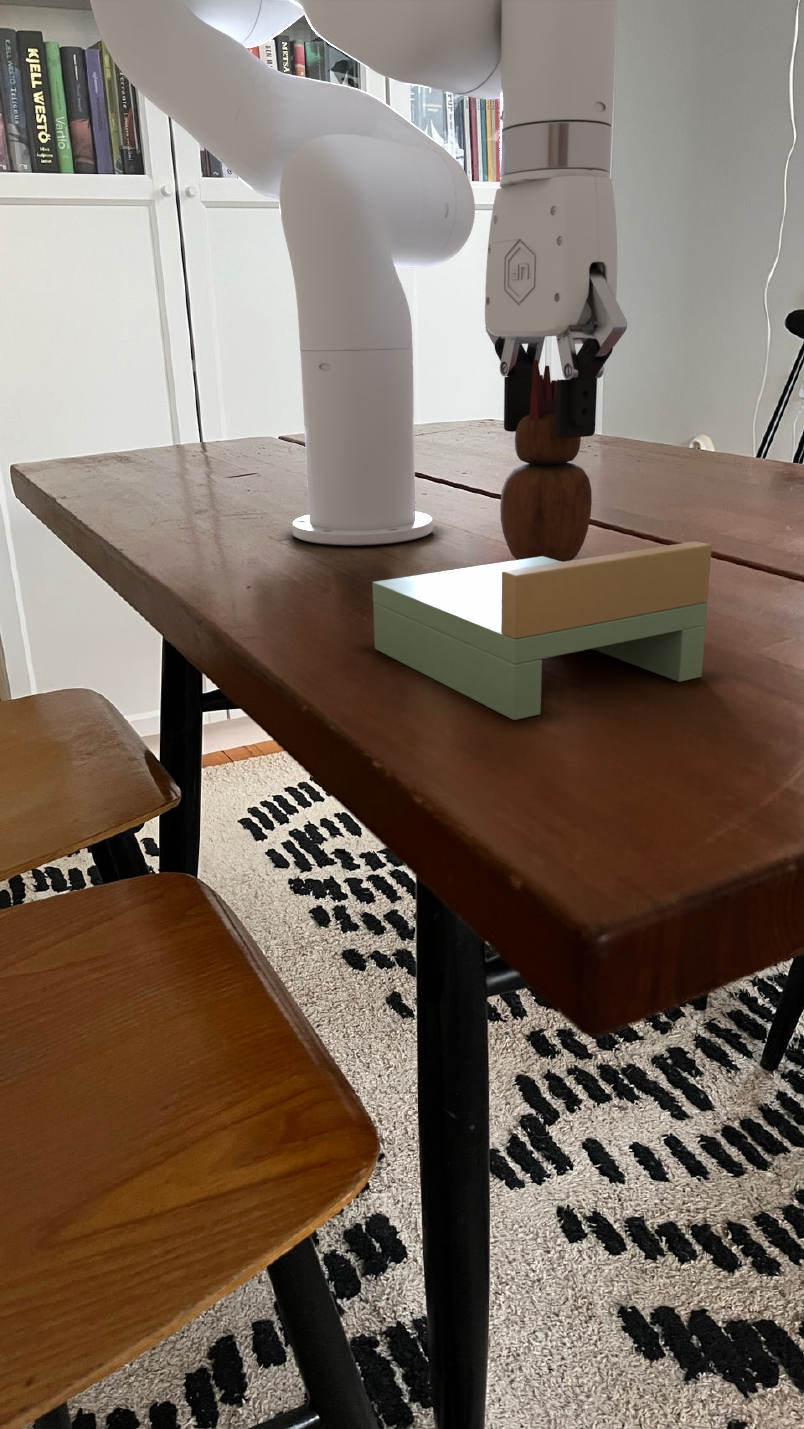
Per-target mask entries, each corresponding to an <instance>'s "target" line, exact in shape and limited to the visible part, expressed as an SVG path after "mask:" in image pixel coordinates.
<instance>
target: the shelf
mask: <svg viewBox="0 0 804 1429" xmlns="http://www.w3.org/2000/svg"><path fill="white" fill-rule="evenodd" d="M712 548H713V546H712V544H709V543H707V542H700V541H697V540H695V541H688V542H682V543H675V544H669V545H663V546H656V547H649V548H643V549H635V550H631V551H630V550H629V551H624V552H617V553H612V554H605V555H599V556H591V557H585V558H578V559H573V560H572V561H565V562H561V561H558V560H554V559H551V558H547V557H544V556H541V557H534V558H528V559H521V560H517V559H515V560H508V561H501V562H494V563H489V564H482V565H475V566H469V567H463V568H456V569H449V570H442V571H436V572H429V573H422V574H417V575H410V576H403V577H396V578H389V579H383V580H377V581H372V583H371V584H372V602H373V604H372V605H373V606H372V607H373V634H374V635H373V636H374V638H373V639H374V649H375V650H376V651H379V652H380V653H382V654H384V655H385V656H388V657H390V658H392V659H393V660H396V661H397V662H399V663H401V664H403V665H406V666H408V667H409V668H411V669H413V670H415V671H417V672H419V673H421V674H423V675H425V676H427V677H429V678H430V679H433V680H434V681H437V682H438V683H440V684H442V685H444V686H446V687H448V688H450V689H452V690H453V691H456V692H458V693H459V694H461V695H463V696H465V697H468V698H469V699H471V700H473V701H475V702H477V703H479V704H481V705H483V706H485V707H487V708H489V709H491V710H493V711H495V712H497V713H498V714H500V715H503V716H504V717H507V718H509V719H510V720H511V721H519V720H522V719H526V718H530V717H534V716H535V717H536V716H540V715H541V712H542V710H541V709H542V674H543V660H544V659H548V658H553V657H557V656H562V655H569V654H572V653H577V652H583V651H587V650H594V651H596V652H599V653H602V654H604V655H607V656H610V657H612V658H615V659H616V660H620V661H622V662H625V663H628V664H631V665H633V666H636V667H638V668H641V669H643V670H647V671H648V672H651V673H655V674H657V675H660V676H662V677H665V678H668V679H670V680H673V681H675V682H678V683H681V682H685V681H689V680H694V679H697V678H701V677H702V676H703V664H704V663H703V662H704V651H705V638H706V624H707V613H708V597H709V588H710V587H709V585H710V574H711V563H712V562H711V561H712V551H713V550H712ZM542 659H543V660H542Z"/></svg>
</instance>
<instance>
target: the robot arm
mask: <svg viewBox="0 0 804 1429" xmlns="http://www.w3.org/2000/svg"><path fill="white" fill-rule="evenodd" d="M89 2H90V7H91V11H92V14H93V17H94V21H95V23H96V26H97V29H98V32H99V35H100V37H101V40H102V42H103V44H104V46H105V48H106V50H107V52H108V53H109V55H110V57H111V58H112V60H113V62H114V63H115V65H116V66H117V68H118V69H119V71H120V72H121V73H122V74H123V76H124V77H125V78H126V79H127V80H128V81H129V83H130V84H131V85H132V86H133V87H134V88H135V89H136V90H137V91H138V92H139V93H140V94H141V95H142V96H143V97H145V99H146V100H148V101H149V102H150V103H151V104H153V106H155V107H156V108H157V109H159V111H161V112H162V113H163V114H165V115H166V116H168V118H170V119H172V120H173V122H175V123H176V124H178V125H179V127H181V128H182V129H183V130H184V131H186V132H187V133H188V134H189V135H190V136H191V137H192V138H193V139H194V140H195V141H196V142H197V143H198V144H200V145H201V146H202V147H203V148H204V149H205V150H206V151H208V153H210V154H211V155H212V156H213V157H214V158H216V159H217V161H219V162H220V163H221V164H222V165H223V166H225V167H226V168H227V169H228V170H229V171H231V173H233V174H234V175H235V176H236V177H237V178H238V179H239V180H240V181H241V182H242V183H244V184H245V185H246V186H247V187H249V189H251V190H252V191H253V192H256V193H257V194H259V195H262V196H264V197H266V198H269V199H271V198H272V199H276V200H278V202H279V203H278V204H279V213H280V219H281V220H280V221H281V224H282V230H283V235H284V238H285V242H286V248H287V251H288V256H289V260H290V265H291V270H292V276H293V282H294V289H295V299H296V307H297V319H298V320H297V321H298V339H299V351H300V370H301V372H300V373H301V388H302V390H301V391H302V406H303V407H302V409H303V427H304V445H305V447H304V448H305V463H306V464H305V465H306V466H305V467H306V482H307V485H306V486H305V487H304V491H303V492H304V496H305V497H306V498H307V502H308V504H307V505H308V514H306V515H303V516H301V517H297V518H296V519H295V520H293V521H292V524H291V530H292V536H294V537H295V538H297V539H299V540H300V541H303V542H309V543H314V544H320V545H331V546H373V545H374V546H375V545H387V544H388V545H389V544H395V543H396V544H397V543H403V542H409V541H413V540H417V539H421V538H423V537H426V536H428V535H430V534H432V532H433V531H434V519H433V518H432V516H430V515H429V514H427V513H423V512H420V511H416V467H415V466H416V464H415V463H416V462H415V460H416V458H415V457H416V455H415V454H416V453H415V408H414V407H415V404H414V403H415V402H414V401H415V400H414V398H415V397H414V394H415V393H414V349H413V348H414V347H413V327H412V326H413V325H412V324H413V323H412V317H411V311H410V306H409V302H408V299H407V296H406V295H407V294H406V292H405V290H404V287H403V284H402V283H401V280H400V278H399V274H398V272H397V269H396V268H415V269H418V268H430V267H434V266H438V265H441V264H443V263H445V262H447V261H449V260H451V259H452V258H453V257H454V256H456V255H457V254H458V253H459V252H460V251H461V250H462V249H463V247H464V246H465V244H466V243H467V242H468V240H469V237H470V235H471V233H472V230H473V227H474V223H475V217H476V216H475V214H476V203H475V196H474V191H473V188H472V184H471V182H470V179H469V177H468V175H467V173H466V171H465V169H464V168H463V166H462V164H461V163H460V162H459V161H458V160H457V158H456V157H455V156H454V155H453V154H452V153H451V152H450V151H448V149H446V148H445V147H444V146H443V145H441V144H440V143H439V142H437V141H436V140H435V139H433V138H432V137H431V136H429V135H428V134H427V133H426V132H424V131H423V130H421V129H420V128H419V127H418V126H416V125H415V124H414V123H412V122H411V121H409V120H408V119H407V118H405V117H404V116H403V115H402V114H401V113H399V112H398V111H396V110H395V109H394V108H392V107H391V106H390V105H388V104H387V103H385V102H384V101H383V100H381V99H380V98H378V97H376V96H373V95H372V94H370V93H368V92H365V91H364V90H361V89H358V88H355V87H351V86H348V85H344V84H339V83H333V82H329V81H325V80H324V81H323V80H319V79H313V78H309V77H302V76H297V75H294V74H293V75H292V74H289V73H284V72H282V71H279V70H277V69H276V68H274V67H272V66H271V65H269V64H267V63H266V62H264V60H262V59H260V58H259V57H257V55H255V54H253V52H251V51H250V50H249V48H254V47H255V48H256V47H258V46H261V45H263V44H265V43H267V42H268V41H271V40H272V39H273V38H275V37H277V36H278V35H280V34H281V33H282V32H283V31H284V30H286V29H287V28H288V27H290V26H291V25H292V24H294V23H295V22H297V21H298V20H299V19H300V18H302V17H303V16H305V18H306V20H307V22H308V24H309V26H310V27H311V29H312V30H313V31H314V32H315V34H316V35H317V36H318V37H320V38H321V39H322V40H324V42H327V43H328V44H329V45H331V46H332V47H334V48H336V49H337V50H338V51H340V52H342V53H344V54H345V55H347V56H348V57H350V58H351V59H353V60H354V61H356V62H358V63H360V64H361V65H363V66H364V67H366V68H368V69H369V70H371V71H373V72H375V73H376V74H378V75H380V76H383V77H385V78H387V79H390V80H392V81H395V82H397V83H401V84H405V85H409V86H417V87H421V88H428V89H432V90H437V91H441V92H448V93H451V94H453V95H458V96H464V97H469V98H474V99H479V100H500V134H499V136H500V139H499V141H500V143H499V148H500V149H499V150H500V151H499V187H500V188H497V189H496V191H495V195H494V201H493V205H492V213H491V218H490V223H489V233H488V243H487V254H486V255H487V256H486V267H485V268H486V269H485V270H486V272H485V288H484V289H485V290H484V295H485V296H484V325H485V332H486V334H487V336H488V337H489V339H490V340H491V343H492V344H493V346H494V351H495V354H496V356H497V357H498V359H499V361H500V364H499V373H500V375H501V376H502V377H504V381H503V382H504V385H503V388H504V389H503V391H504V392H503V429H504V430H505V431H506V432H509V433H513V432H514V433H516V429H517V426H518V424H519V422H520V421H521V420H522V418H523V417H525V416H527V415H529V414H530V404H531V388H532V373H533V361H534V360H538V365H540V363H541V357H542V353H543V348H544V344H545V340H546V337H555V338H556V343H557V344H556V345H557V349H558V353H559V354H558V355H559V360H560V366H561V371H562V372H561V373H562V376H563V379H556V381H557V385H556V416H555V434H556V436H557V437H558V438H575V437H581V438H586V437H592V436H594V435H595V432H596V421H597V420H596V419H597V418H596V416H597V393H598V391H597V390H598V379H600V378H602V377H603V375H604V372H605V366H604V365H605V363H606V362H607V361H608V359H609V358H610V357H611V355H612V354H613V350H614V348H615V346H616V345H617V344H618V342H619V341H620V339H621V338H622V337H623V335H624V334H625V333H626V331H627V329H628V321H627V318H626V317H625V314H624V312H623V310H622V309H621V307H620V305H619V303H618V302H617V291H618V232H617V216H616V215H617V214H616V204H615V194H614V192H615V191H614V186H613V179H612V178H611V165H612V164H611V163H612V161H611V160H612V142H613V141H612V140H613V139H612V138H613V114H614V93H615V69H616V68H615V67H616V47H617V46H616V44H617V22H618V21H617V20H618V0H89ZM523 345H527V347H526V350H525V347H524V346H523ZM576 345H582V346H580V349H579V350H578V352H577V350H576ZM543 376H544V374H540V377H541V383H542V382H543Z"/></svg>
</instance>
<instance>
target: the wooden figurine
mask: <svg viewBox="0 0 804 1429" xmlns="http://www.w3.org/2000/svg"><path fill="white" fill-rule="evenodd" d="M539 365H540V364H539ZM539 365H538V360H534V361H533V373H532V388H531V404H530V414H529V415H527V416H525V417H523V418H522V420H521V421H520V422H519V424H518V426H517V429H516V432H514V433H515V434H514V449H515V453H516V456H517V457H518V459H519V460H520V462H521V461H522V462H524V464H523V465H520V466H518V467H516V468H513V470H512V471H511V472H510V473H509V474H508V476H507V477H506V478H505V481H504V483H503V485H502V489H501V494H500V504H499V505H500V507H499V509H500V511H499V512H500V523H501V528H502V535H503V537H504V540H505V543H506V545H507V548H508V549H509V552H510V554H511V556H512V557H513V559H515V560H521V559H528V558H534V557H541V556H544V557H547V558H551V559H554V560H558V561H561V562H565V561H572V560H575V559H576V557H577V556H578V555H579V552H580V551H581V549H582V547H583V545H584V543H585V540H586V537H587V534H588V531H589V527H590V522H591V515H592V501H593V500H592V499H593V498H592V497H593V496H592V495H593V494H592V486H591V482H590V477H589V476H588V474H587V473H586V472H585V469H584V468H583V467H581V466H580V465H578V464H576V463H574V462H572V461H574V460H575V458H576V457H577V456H578V454H579V451H580V448H581V441H582V437H575V438H558V437H557V436H556V434H555V416H556V385H557V379H551V371H550V365H545V366H544V371H543V382H542V383H541V377H540V375H541V372H540V366H539Z"/></svg>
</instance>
